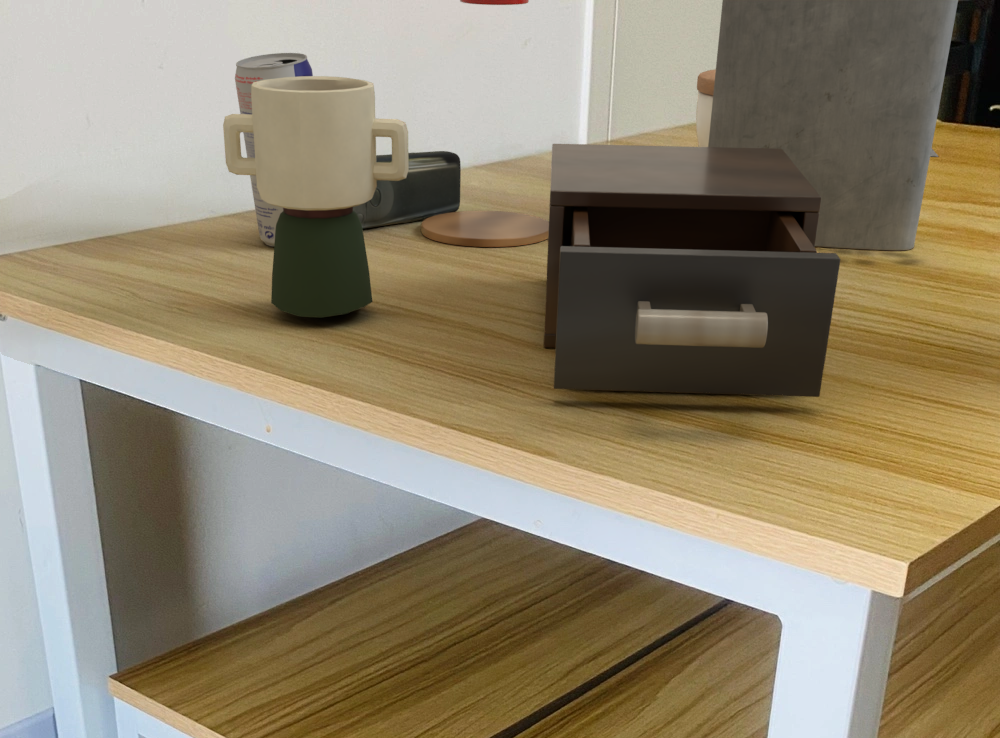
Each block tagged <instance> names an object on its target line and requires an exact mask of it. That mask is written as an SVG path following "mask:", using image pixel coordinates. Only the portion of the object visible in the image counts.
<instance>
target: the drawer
mask: <svg viewBox="0 0 1000 738" xmlns="http://www.w3.org/2000/svg"><path fill="white" fill-rule="evenodd" d="M840 265H841V258H840V257H839V255H838V253H836V252H817V249H816V248H814V246H813V245H812V243H811V242H810V240H809V239H808V237H807V236H806V234H805V233H804V232H803V230H802V229H801V227H800V226H799V224H798V223H797V221H796V220H795V218H794V217H793V215H792V214H791V212H785V211H744V210H703V209H662V208H621V207H579V206H572V223H571V242H570V246H561V247H560V265H559V286H558V307H557V328H556V348H554V349H555V352H554V370H553V371H554V372H553V373H554V374H553V389H555V390H578V391H579V390H580V391H581V390H582V391H583V390H585V391H612V392H613V391H615V392H646V393H648V392H650V393H675V394H677V393H679V394H708V395H709V394H710V395H712V394H713V395H740V396H741V395H743V396H748V395H749V396H772V397H773V396H774V397H777V396H779V397H807V398H808V397H809V398H810V397H811V398H812V397H813V398H819V397H820V395H821V389H822V382H823V376H824V371H825V370H824V369H825V363H826V356H827V350H828V343H829V337H830V331H831V325H832V319H833V312H834V311H833V310H834V304H835V297H836V291H837V285H838V277H839V272H840Z"/></svg>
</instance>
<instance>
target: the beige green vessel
mask: <svg viewBox="0 0 1000 738" xmlns="http://www.w3.org/2000/svg"><path fill="white" fill-rule="evenodd" d="M251 100H252V115H251V114H240V113H230V114H227V115H225V116H224V119H223V124H222V128H223V129H222V130H223V142H224V143H223V144H224V156H225V157H224V158H225V165H226V167H227V170H228V173H231V174H234V175H236V176H238V175H239V176H250V175H256V179H257V188H258V191H259V194H260V197H261V199H262V200H264V201H265V202H267V203H269V204H271V205H274V206H278V207H282V208H283V212H282V213H280V216H279V218H278V221H277V223H276V230H275V243H274V247H273V259H272V272H271V294H270V295H271V296H270V297H271V300H270V303H271V304H272V305H273V306H274V307H275V308H277V310H279V311H281V312H284V313H286V314H291V315H294V316H296V317H304V318H321V319H322V318H328V317H334V316H335V317H336V316H340V315H342V316H348V315H349V314H350V313H351V312H355V311H357V310H361V309H364V308H365V307H366V306H368V305H370V304H372V303H373V293H372V284H371V276H370V268H369V262H368V255H367V249H366V243H365V242H366V241H365V235H364V231H363V230H364V229H362V223H361V221H360V219H359V217H358V215H357V213H356V212H354V211H353V207H355V206H359V205H361V204H363V203H366V202H367V201H369V200H371V199H372V197H373V195H374V192H375V189H376V187H377V180H391V181H399V180H402V179H405V178H406V177H407V173H408V170H409V165H408V153H409V129H408V126H407V122H406V121H403V120H401V119H398V118H376V95H375V85H374V82H371V81H368V80H364V79H358V78H351V77H343V76H341V77H340V76H329V75H313V76H300V77H284V78H276V79H267V80H261V81H257V82H253V84H252V86H251ZM243 132H251V133H254V147H255V158H247V157H243V156H242V146H241V144H242V143H241V133H243ZM377 138H391V154H392V162H391V163H381V162H376V155H377Z"/></svg>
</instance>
